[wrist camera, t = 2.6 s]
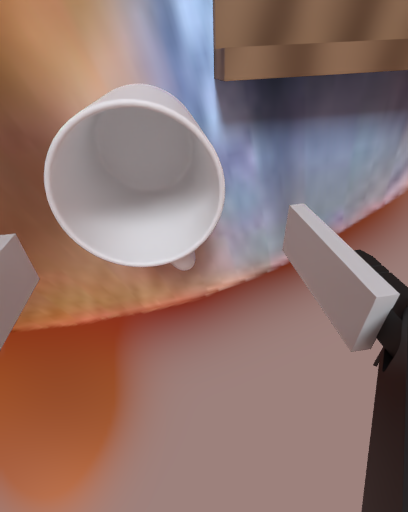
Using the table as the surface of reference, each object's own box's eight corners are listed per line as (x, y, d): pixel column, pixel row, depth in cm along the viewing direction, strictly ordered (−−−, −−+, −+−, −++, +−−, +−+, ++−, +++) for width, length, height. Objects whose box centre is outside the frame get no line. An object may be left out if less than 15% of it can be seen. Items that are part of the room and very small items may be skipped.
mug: (222, 211, 25) (255, 283, 17) (142, 240, 26) (136, 324, 18) (175, 62, 18) (192, 63, 10) (65, 108, 19) (-5, 145, 10)
